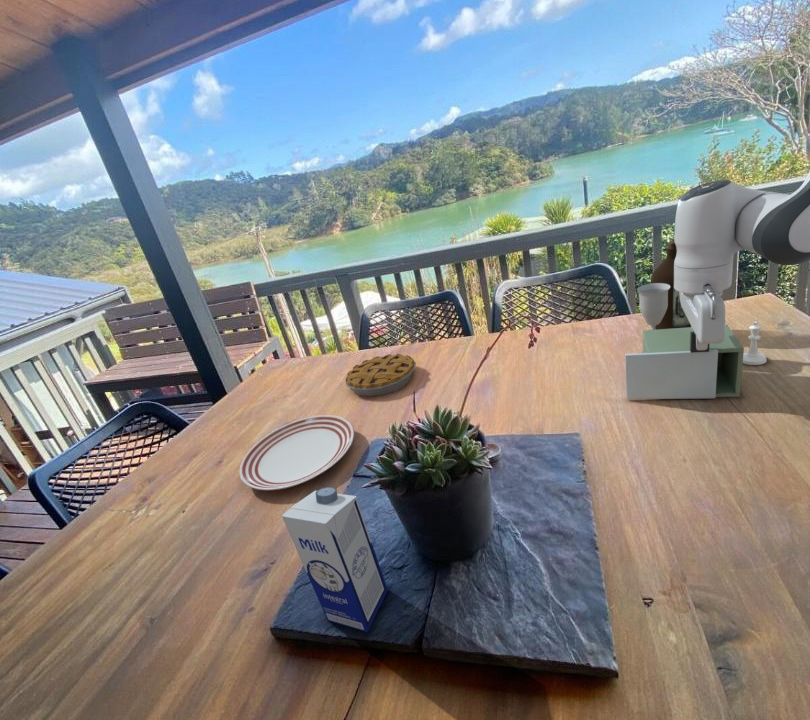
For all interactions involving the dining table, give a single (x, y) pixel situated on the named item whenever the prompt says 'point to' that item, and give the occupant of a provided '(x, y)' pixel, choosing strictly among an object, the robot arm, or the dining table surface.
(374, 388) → the pie
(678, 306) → the dark brown necked cylinder
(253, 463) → the dinner plate
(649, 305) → the chalice
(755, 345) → the chess piece
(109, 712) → the dining table surface
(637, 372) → the sliding door
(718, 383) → the cabinet
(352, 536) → the milk carton
